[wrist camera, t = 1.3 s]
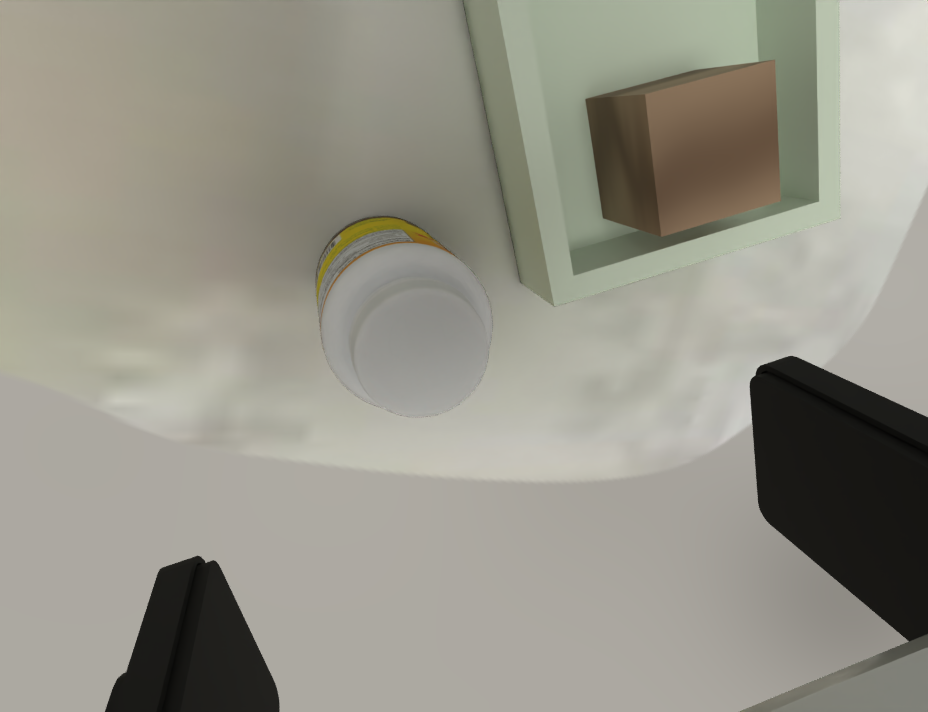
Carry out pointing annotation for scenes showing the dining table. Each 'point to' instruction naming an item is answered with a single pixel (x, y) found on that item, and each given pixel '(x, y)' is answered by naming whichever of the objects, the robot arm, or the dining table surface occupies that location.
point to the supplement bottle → (401, 317)
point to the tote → (629, 64)
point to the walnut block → (687, 147)
